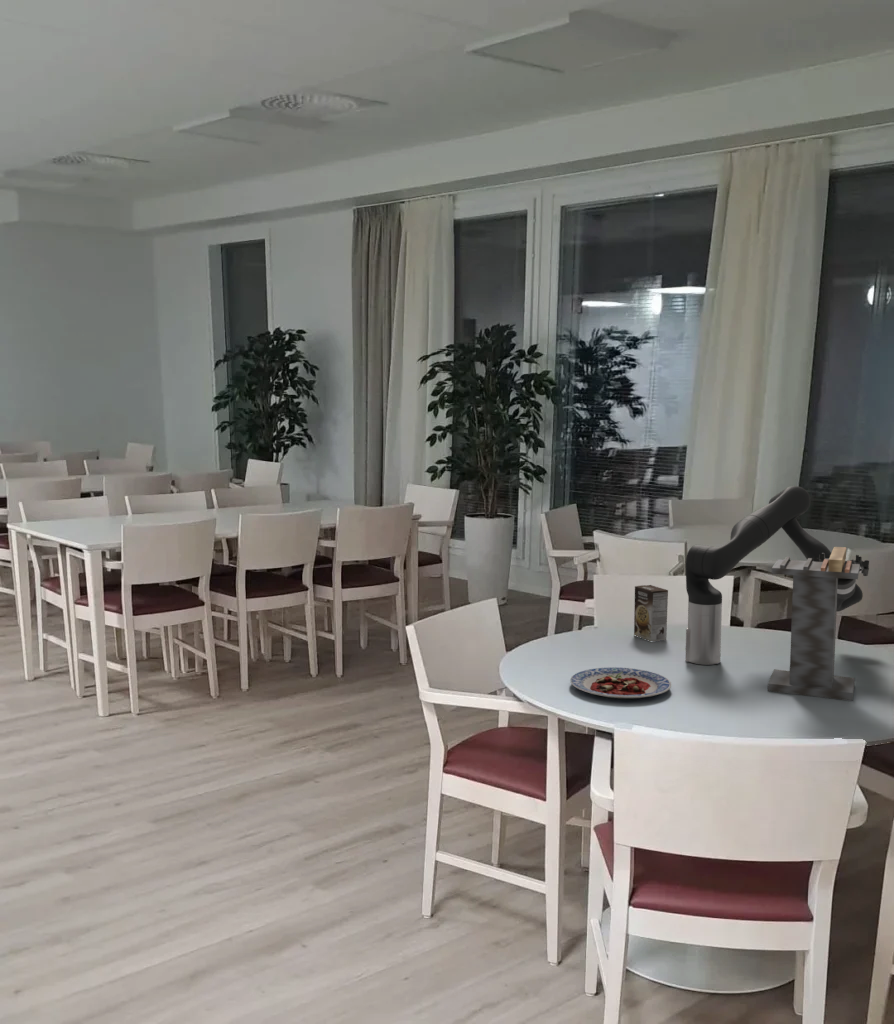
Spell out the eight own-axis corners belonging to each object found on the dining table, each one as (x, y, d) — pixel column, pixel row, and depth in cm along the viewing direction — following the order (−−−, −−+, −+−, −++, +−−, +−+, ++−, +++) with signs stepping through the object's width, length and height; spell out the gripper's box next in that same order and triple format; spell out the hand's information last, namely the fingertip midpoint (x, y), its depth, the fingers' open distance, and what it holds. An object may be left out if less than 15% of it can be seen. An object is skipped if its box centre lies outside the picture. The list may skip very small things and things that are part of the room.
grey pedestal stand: (767, 690, 244) (771, 564, 240) (773, 676, 256) (778, 556, 253) (852, 700, 235) (858, 570, 232) (854, 685, 248) (860, 561, 244)
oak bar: (828, 571, 235) (828, 559, 234) (833, 557, 254) (834, 546, 254) (841, 572, 233) (841, 560, 233) (845, 558, 253) (846, 547, 253)
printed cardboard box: (632, 636, 301) (633, 586, 299) (649, 633, 304) (650, 584, 302) (650, 642, 293) (651, 591, 291) (667, 640, 296) (668, 589, 294)
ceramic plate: (672, 708, 232) (673, 696, 231) (566, 702, 237) (566, 690, 237) (669, 677, 257) (670, 667, 256) (573, 673, 262) (573, 662, 262)
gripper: (815, 563, 274) (812, 542, 261) (869, 566, 268) (869, 545, 254) (813, 588, 272) (810, 568, 258) (868, 591, 266) (868, 571, 252)
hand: (840, 557), depth 256 cm, fingers open, 8 cm apart
